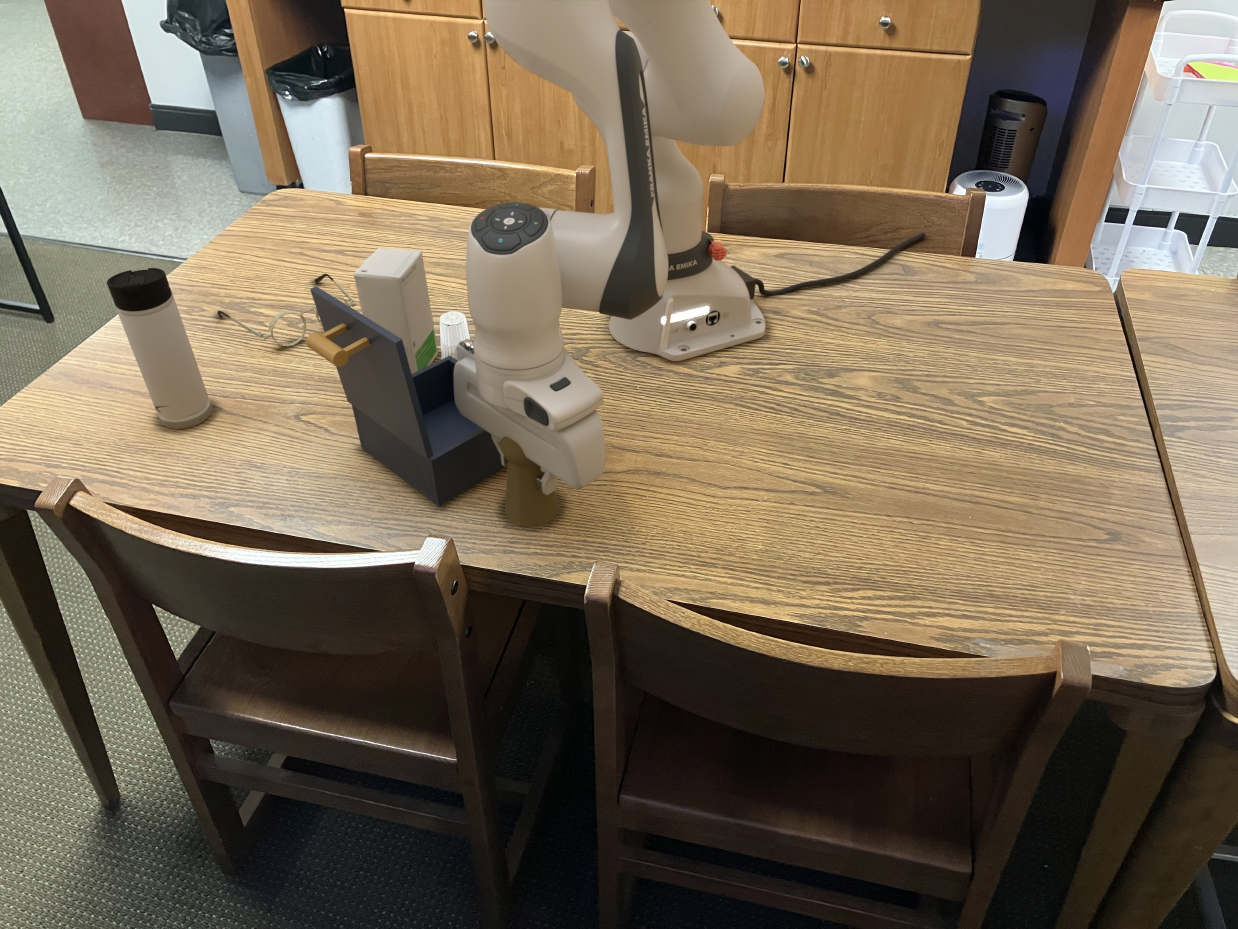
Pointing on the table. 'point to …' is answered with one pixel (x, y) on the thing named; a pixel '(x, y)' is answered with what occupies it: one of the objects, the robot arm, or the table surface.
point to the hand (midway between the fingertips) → (529, 477)
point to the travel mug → (161, 346)
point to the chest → (435, 441)
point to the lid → (370, 369)
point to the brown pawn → (525, 490)
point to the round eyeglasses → (292, 313)
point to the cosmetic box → (399, 301)
